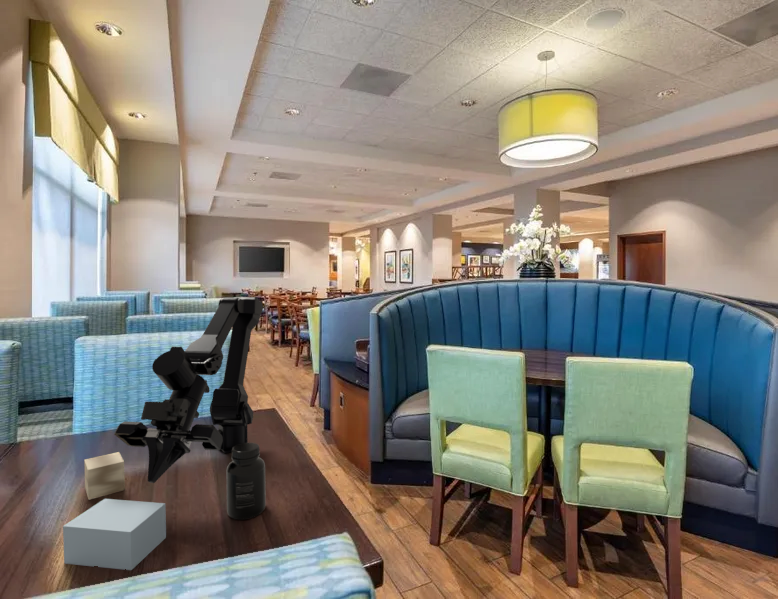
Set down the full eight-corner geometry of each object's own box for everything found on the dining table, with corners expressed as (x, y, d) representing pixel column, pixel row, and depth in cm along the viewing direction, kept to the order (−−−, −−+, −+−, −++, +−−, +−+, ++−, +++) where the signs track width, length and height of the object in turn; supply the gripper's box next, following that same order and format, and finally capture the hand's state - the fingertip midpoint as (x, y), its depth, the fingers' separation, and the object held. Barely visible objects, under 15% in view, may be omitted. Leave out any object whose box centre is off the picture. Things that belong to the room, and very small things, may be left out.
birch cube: (119, 479, 91) (118, 451, 90) (124, 490, 86) (124, 461, 86) (85, 488, 87) (84, 459, 86) (88, 500, 82) (87, 469, 82)
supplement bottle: (273, 504, 81) (272, 442, 80) (250, 524, 75) (249, 457, 74) (243, 498, 83) (242, 438, 83) (218, 516, 77) (217, 451, 76)
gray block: (104, 498, 72) (63, 526, 64) (165, 503, 70) (130, 532, 62) (105, 533, 72) (64, 564, 64) (166, 538, 71) (131, 571, 63)
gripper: (119, 380, 81) (74, 462, 70) (214, 383, 79) (182, 468, 69) (147, 407, 89) (110, 485, 79) (234, 410, 87) (207, 490, 77)
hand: (150, 482), depth 76 cm, fingers closed
